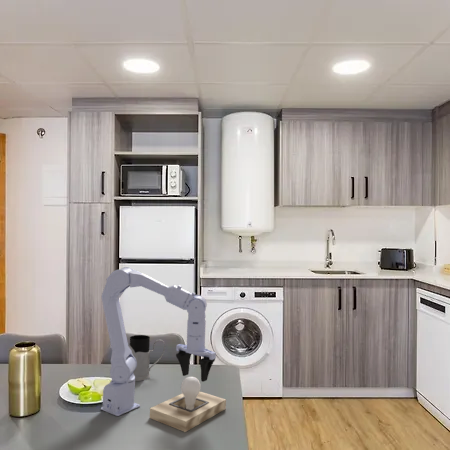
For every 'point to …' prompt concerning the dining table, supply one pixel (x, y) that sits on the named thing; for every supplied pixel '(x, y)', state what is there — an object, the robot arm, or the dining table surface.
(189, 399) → the lightbulb
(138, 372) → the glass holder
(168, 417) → the socket plate
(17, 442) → the dining table surface
